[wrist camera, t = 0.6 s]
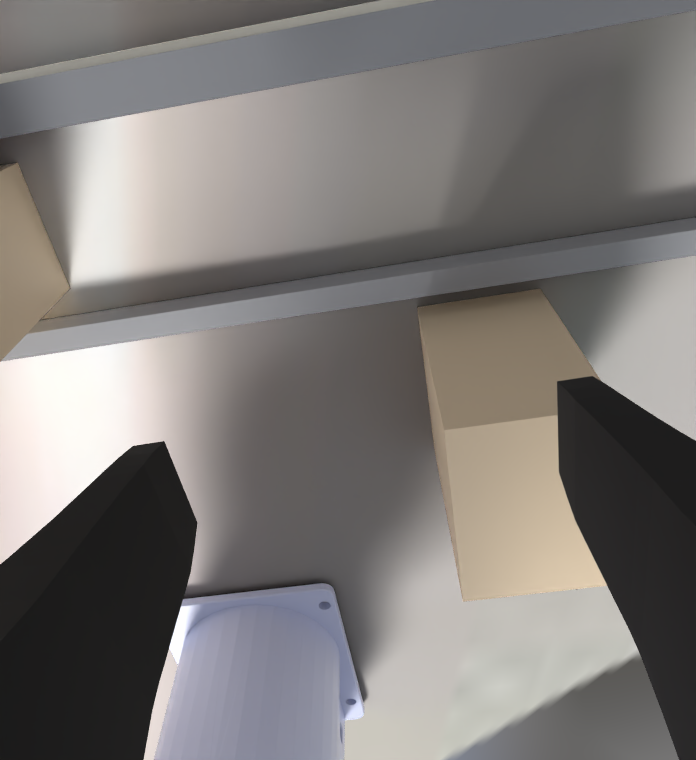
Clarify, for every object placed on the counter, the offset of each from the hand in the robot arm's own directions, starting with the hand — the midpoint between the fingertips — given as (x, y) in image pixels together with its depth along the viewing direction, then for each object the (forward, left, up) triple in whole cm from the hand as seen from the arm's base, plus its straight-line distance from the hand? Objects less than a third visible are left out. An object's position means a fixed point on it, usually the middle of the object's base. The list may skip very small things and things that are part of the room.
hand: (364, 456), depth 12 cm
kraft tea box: (-5, -4, -10) cm, 12 cm away
